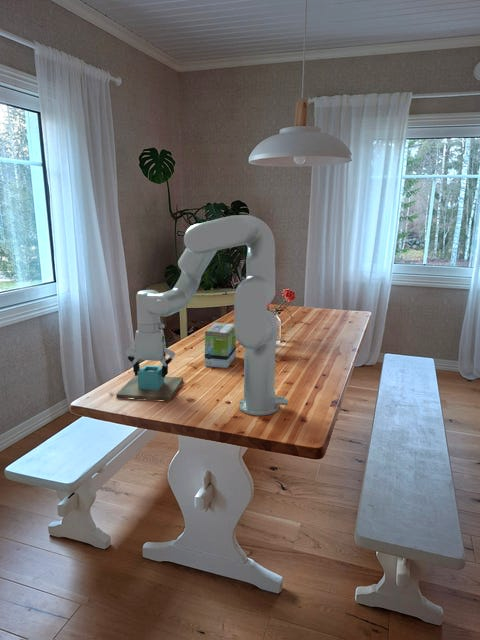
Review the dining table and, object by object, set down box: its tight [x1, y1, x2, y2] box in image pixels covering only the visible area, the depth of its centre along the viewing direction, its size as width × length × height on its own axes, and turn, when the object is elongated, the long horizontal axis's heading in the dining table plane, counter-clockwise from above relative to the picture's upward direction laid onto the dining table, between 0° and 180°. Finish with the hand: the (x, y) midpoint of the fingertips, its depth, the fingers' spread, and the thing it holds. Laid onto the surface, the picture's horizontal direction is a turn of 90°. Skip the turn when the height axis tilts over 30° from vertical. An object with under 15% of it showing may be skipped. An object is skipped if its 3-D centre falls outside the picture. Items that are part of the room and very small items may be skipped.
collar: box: [137, 364, 164, 390], centre depth 154 cm, size 7×7×6 cm
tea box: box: [204, 322, 237, 369], centre depth 183 cm, size 15×10×15 cm, turn 168°
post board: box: [115, 370, 184, 402], centre depth 155 cm, size 18×18×6 cm
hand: (150, 375), depth 154 cm, fingers open, 9 cm apart
